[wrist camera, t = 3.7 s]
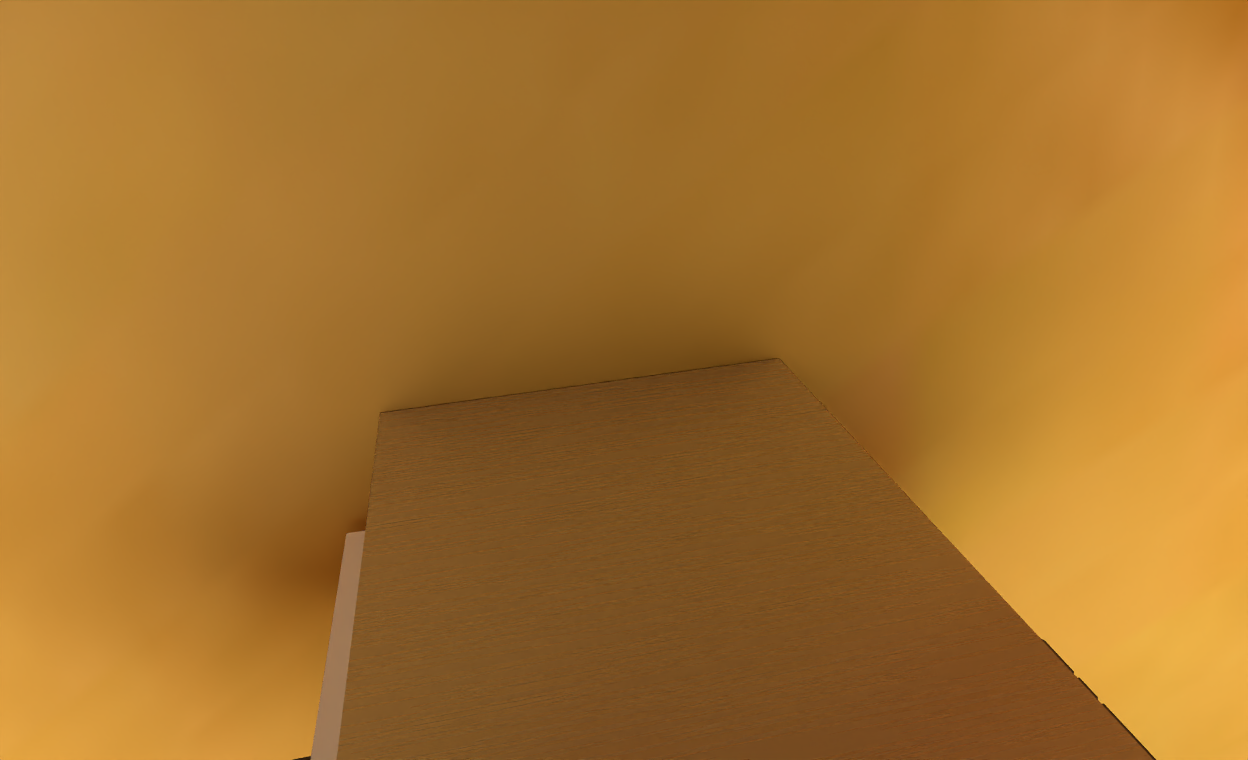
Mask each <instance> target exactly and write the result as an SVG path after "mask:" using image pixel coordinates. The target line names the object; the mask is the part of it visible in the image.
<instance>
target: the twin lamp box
mask: <svg viewBox="0 0 1248 760" xmlns="http://www.w3.org/2000/svg"><path fill="white" fill-rule="evenodd" d="M336 760H1153V759H1152V758H1151V756H1150V755H1149V754H1148V753H1147V752H1146V751H1145V750H1144V749H1143V748H1142V747H1141V746H1140V745H1139V744H1138V743H1137V741H1136V740H1135V739H1134V738H1133V737H1132V736H1131V735H1130V734H1129V733H1128V732H1127V731H1126V730H1125V729H1124V728H1123V726H1122V725H1121V724H1120V723H1119V722H1118V721H1117V720H1116V719H1115V718H1114V717H1113V716H1112V715H1111V714H1110V713H1109V711H1108V710H1107V709H1106V708H1105V707H1104V706H1103V705H1102V704H1101V703H1100V702H1099V701H1098V700H1097V699H1096V698H1095V696H1094V695H1093V694H1092V693H1091V692H1090V691H1089V690H1088V689H1087V688H1086V687H1085V686H1084V685H1083V684H1082V683H1081V681H1080V680H1079V679H1078V678H1077V677H1076V676H1075V675H1074V674H1073V673H1072V672H1071V671H1070V670H1069V669H1068V668H1067V666H1066V665H1065V664H1064V663H1063V662H1062V661H1061V660H1060V659H1059V658H1058V657H1057V656H1056V655H1055V654H1054V653H1053V651H1052V650H1051V649H1050V648H1049V647H1048V646H1047V645H1046V644H1045V643H1044V642H1043V641H1042V640H1041V639H1040V638H1039V636H1038V635H1037V634H1036V633H1035V632H1034V631H1033V630H1032V629H1031V628H1030V627H1029V626H1028V625H1027V624H1026V623H1025V621H1024V620H1023V619H1022V618H1021V617H1020V616H1019V615H1018V614H1017V613H1016V612H1015V611H1014V610H1013V609H1012V608H1011V606H1010V605H1009V604H1008V603H1007V602H1006V601H1005V600H1004V599H1003V598H1002V597H1001V596H1000V595H999V594H998V592H997V591H996V590H995V589H994V588H993V587H992V586H991V585H990V584H989V583H988V582H987V581H986V580H985V579H984V577H983V576H982V575H981V574H980V573H979V572H978V571H977V570H976V569H975V568H974V567H973V566H972V565H971V564H970V562H969V561H968V560H967V559H966V558H965V557H964V556H963V555H962V554H961V553H960V552H959V551H958V550H957V549H956V547H955V546H954V545H953V544H952V543H951V542H950V541H949V540H948V539H947V538H946V537H945V536H944V535H943V534H942V532H941V531H940V530H939V529H938V528H937V527H936V526H935V525H934V524H933V523H932V522H931V521H930V520H929V519H928V517H927V516H926V515H925V514H924V513H923V512H922V511H921V510H920V509H919V508H918V507H917V506H916V505H915V504H914V502H913V501H912V500H911V499H910V498H909V497H908V496H907V495H906V494H905V493H904V492H903V491H902V490H901V489H900V487H899V486H898V485H897V484H896V483H895V482H894V481H893V480H892V479H891V478H890V477H889V476H888V475H887V474H886V472H885V471H884V470H883V469H882V468H881V467H880V466H879V465H878V464H877V463H876V462H875V461H874V460H873V459H872V457H871V456H870V455H869V454H868V453H867V452H866V451H865V450H864V449H863V448H862V447H861V446H860V445H859V444H858V442H857V441H856V440H855V439H854V438H853V437H852V436H851V435H850V434H849V433H848V432H847V431H846V430H845V429H844V427H843V426H842V425H841V424H840V423H839V422H838V421H837V420H836V419H835V418H834V417H833V416H832V415H831V414H830V412H829V411H828V410H827V409H826V408H825V407H824V406H823V405H822V404H821V403H820V402H819V401H818V400H817V399H816V397H815V396H814V395H813V394H812V393H811V392H810V391H809V390H808V389H807V388H806V387H805V386H804V385H803V384H802V382H801V381H800V380H799V379H798V378H797V377H796V376H795V375H794V374H793V373H792V372H791V371H790V370H789V369H788V367H787V366H786V365H785V364H784V363H783V362H782V361H781V360H780V359H771V360H764V361H757V362H750V363H742V364H735V365H728V366H720V367H713V368H706V369H698V370H691V371H684V372H676V373H669V374H662V375H654V376H647V377H640V378H633V379H625V380H618V381H611V382H603V383H596V384H589V385H581V386H574V387H567V388H559V389H552V390H545V391H537V392H530V393H523V394H516V395H508V396H501V397H494V398H486V399H479V400H472V401H464V402H457V403H450V404H442V405H435V406H428V407H420V408H413V409H406V410H399V411H391V412H384V413H380V418H379V426H378V434H377V442H376V450H375V457H374V465H373V473H372V481H371V489H370V497H369V505H368V513H367V521H366V529H365V537H364V545H363V553H362V561H361V569H360V577H359V585H358V593H357V601H356V608H355V616H354V624H353V632H352V640H351V648H350V656H349V664H348V672H347V680H346V688H345V696H344V704H343V712H342V720H341V728H340V736H339V744H338V752H337V759H336Z"/></svg>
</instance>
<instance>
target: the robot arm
mask: <svg viewBox="0 0 1248 760" xmlns="http://www.w3.org/2000/svg"><path fill="white" fill-rule="evenodd" d="M364 537H365V531H358V532H352V533H346V540H345V546H344V552H343V558H342V565H341V571H340V577H339V584H338V590H337V596H336V602H335V609H334V615H333V621H332V628H331V634H330V640H329V647H328V653H327V659H326V665H325V672H324V678H323V684H322V691H321V697H320V703H319V709H318V716H317V722H316V728H315V735H314V741H313V747H312V753H311V756H309V757H304V758H299V759H294V760H336V759H337V752H338V744H339V736H340V728H341V720H342V712H343V704H344V696H345V688H346V680H347V672H348V664H349V656H350V648H351V640H352V632H353V624H354V616H355V608H356V601H357V593H358V585H359V577H360V569H361V561H362V553H363V545H364ZM1039 638H1040V637H1039ZM1040 639H1041V638H1040ZM1041 640H1042V641H1043V642H1044V643H1045V644H1046V645H1047V646H1048V647H1049V648H1050V649H1051V650H1052V651H1053V653H1054V654H1055V655H1056V656H1057V657H1058V658H1059V659H1060V660H1061V661H1062V662H1063V663H1064V664H1065V665H1066V666H1067V668H1068V669H1069V670H1070V671H1071V672H1072V673H1073V674H1074V671H1073V670H1072V669H1071V668H1070V667H1069V666H1068V665H1067V664H1066V663H1065V662H1064V661H1063V660H1062V658H1061V657H1060V656H1059V655H1058V654H1057V653H1056V652H1055V651H1054V650H1053V649H1052V648H1051V647H1050V646H1049V645H1048V644H1047V642H1046V641H1044V640H1043V639H1041ZM1078 679H1079V680H1080V681H1081V683H1082V684H1083V685H1084V686H1085V687H1086V688H1087V689H1088V690H1089V691H1090V692H1091V693H1092V694H1093V695H1094V696H1095V698H1096V699H1097V700H1098V697H1097V696H1096V695H1095V694H1094V693H1093V692H1092V691H1091V689H1090V688H1089V687H1088V686H1087V685H1086V684H1085V683H1084V682H1083V681H1082V680H1081V679H1080V678H1078ZM1102 705H1103V706H1104V707H1105V708H1106V709H1107V710H1108V711H1109V713H1110V714H1111V715H1112V716H1113V717H1114V718H1115V719H1116V720H1117V721H1118V722H1119V723H1120V724H1121V725H1122V726H1123V728H1124V729H1125V730H1126V731H1127V732H1128V733H1129V734H1130V735H1131V736H1132V737H1133V738H1134V739H1135V740H1136V741H1137V743H1138V744H1139V745H1140V746H1141V747H1142V748H1143V749H1144V750H1145V751H1146V752H1147V753H1148V754H1149V755H1150V756H1151V758H1152V759H1153V760H1156V759H1155V758H1154V757H1153V756H1152V755H1151V754H1150V752H1149V751H1148V750H1147V749H1146V748H1145V747H1144V746H1143V745H1142V744H1141V743H1140V742H1139V741H1138V740H1137V739H1136V738H1135V736H1134V735H1133V734H1132V733H1131V732H1130V731H1129V730H1128V729H1127V728H1126V727H1125V726H1124V725H1123V724H1122V723H1121V722H1120V720H1119V719H1118V718H1117V717H1116V716H1115V715H1114V714H1113V713H1112V712H1111V711H1110V710H1109V709H1108V708H1107V707H1106V705H1105V704H1102Z"/></svg>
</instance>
